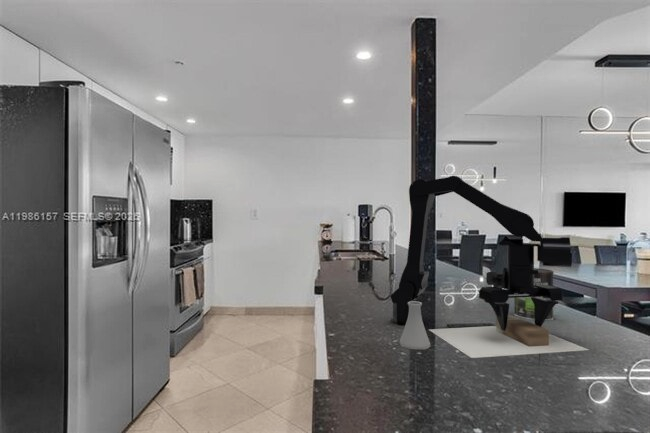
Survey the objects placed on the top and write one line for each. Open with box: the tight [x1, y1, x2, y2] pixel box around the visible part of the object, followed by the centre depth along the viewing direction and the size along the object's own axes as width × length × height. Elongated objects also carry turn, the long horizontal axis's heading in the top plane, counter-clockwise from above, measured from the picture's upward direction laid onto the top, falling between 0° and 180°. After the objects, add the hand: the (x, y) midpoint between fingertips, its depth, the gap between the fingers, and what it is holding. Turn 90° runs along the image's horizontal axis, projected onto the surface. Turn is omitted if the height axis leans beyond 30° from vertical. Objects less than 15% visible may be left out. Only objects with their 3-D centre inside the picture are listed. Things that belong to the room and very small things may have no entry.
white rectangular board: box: [428, 325, 589, 359], centre depth 88 cm, size 28×20×1 cm
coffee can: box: [513, 267, 554, 321], centre depth 110 cm, size 10×10×14 cm
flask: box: [399, 300, 432, 350], centre depth 85 cm, size 7×7×10 cm
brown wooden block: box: [495, 315, 550, 347], centre depth 89 cm, size 12×5×4 cm, turn 10°
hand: (520, 329), depth 89 cm, fingers open, 9 cm apart
